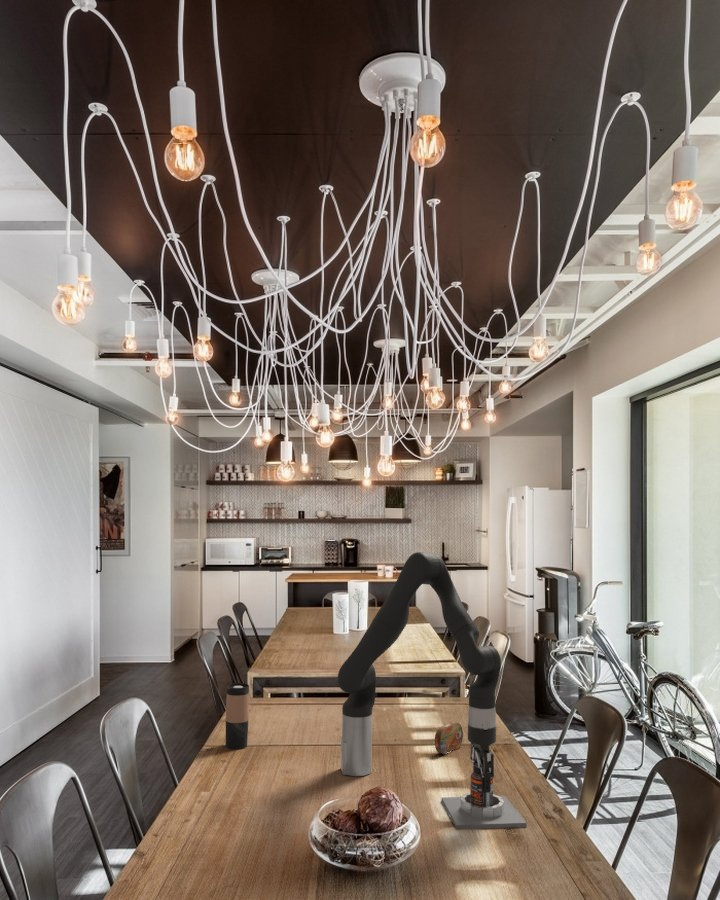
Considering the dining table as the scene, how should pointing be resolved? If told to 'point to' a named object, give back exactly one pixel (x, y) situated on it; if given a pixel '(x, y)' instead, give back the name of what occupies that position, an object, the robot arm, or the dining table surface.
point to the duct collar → (482, 811)
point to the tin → (448, 738)
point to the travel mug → (237, 715)
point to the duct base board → (468, 822)
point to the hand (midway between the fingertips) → (481, 785)
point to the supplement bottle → (480, 790)
